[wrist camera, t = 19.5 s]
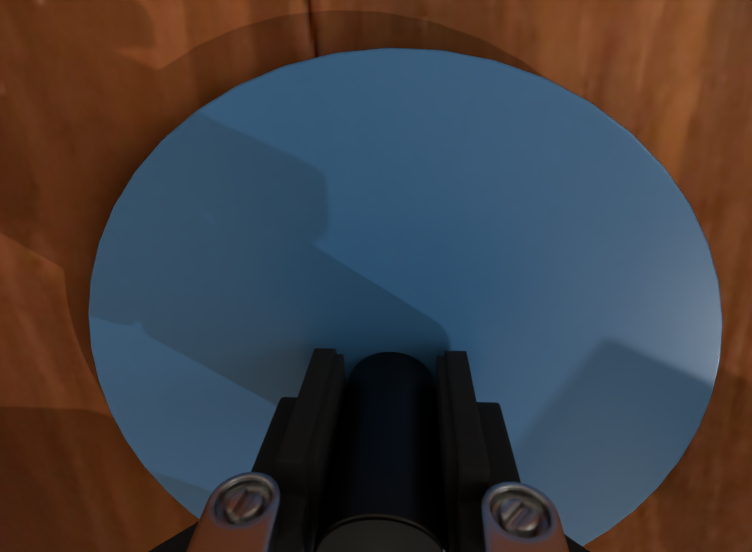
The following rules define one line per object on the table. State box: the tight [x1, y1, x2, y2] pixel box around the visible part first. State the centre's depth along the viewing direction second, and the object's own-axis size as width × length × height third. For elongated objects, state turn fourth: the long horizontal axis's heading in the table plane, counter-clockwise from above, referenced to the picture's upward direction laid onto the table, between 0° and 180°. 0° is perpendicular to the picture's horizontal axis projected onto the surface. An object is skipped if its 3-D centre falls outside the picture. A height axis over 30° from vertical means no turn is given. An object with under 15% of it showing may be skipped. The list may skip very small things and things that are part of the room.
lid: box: [88, 47, 723, 552], centre depth 11 cm, size 17×17×6 cm
